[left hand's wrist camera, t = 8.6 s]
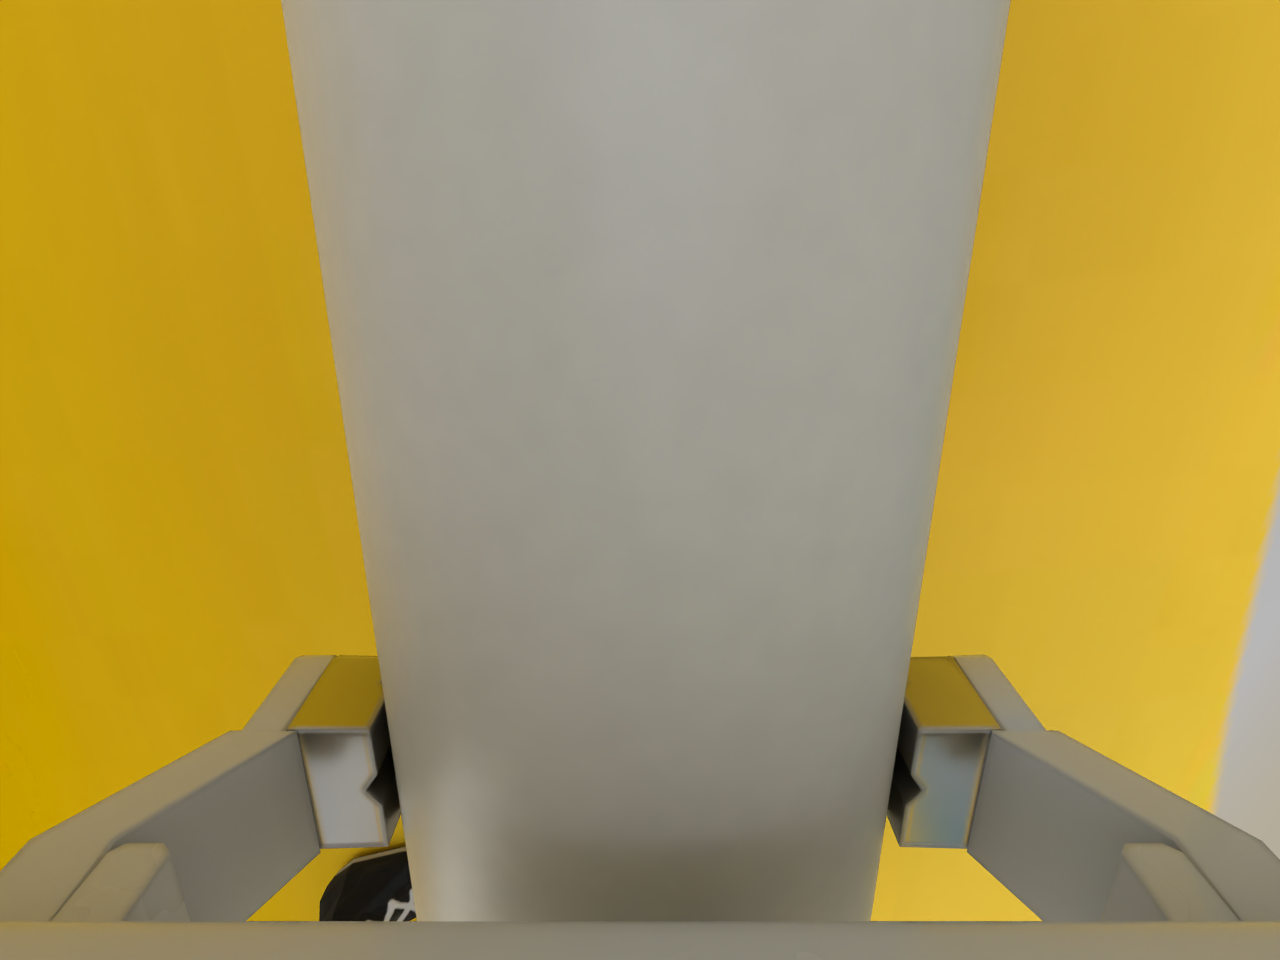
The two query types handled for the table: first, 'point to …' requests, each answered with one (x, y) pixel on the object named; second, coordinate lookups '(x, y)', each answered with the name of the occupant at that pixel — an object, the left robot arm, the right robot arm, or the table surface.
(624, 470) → the rod
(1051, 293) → the table surface
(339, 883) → the figurine
